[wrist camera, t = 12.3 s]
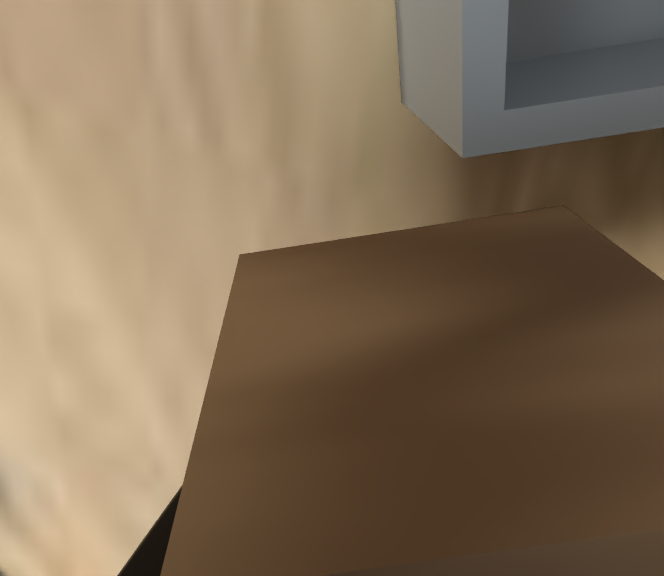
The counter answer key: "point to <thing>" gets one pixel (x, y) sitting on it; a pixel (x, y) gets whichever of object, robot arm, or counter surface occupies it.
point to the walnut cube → (433, 409)
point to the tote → (531, 70)
